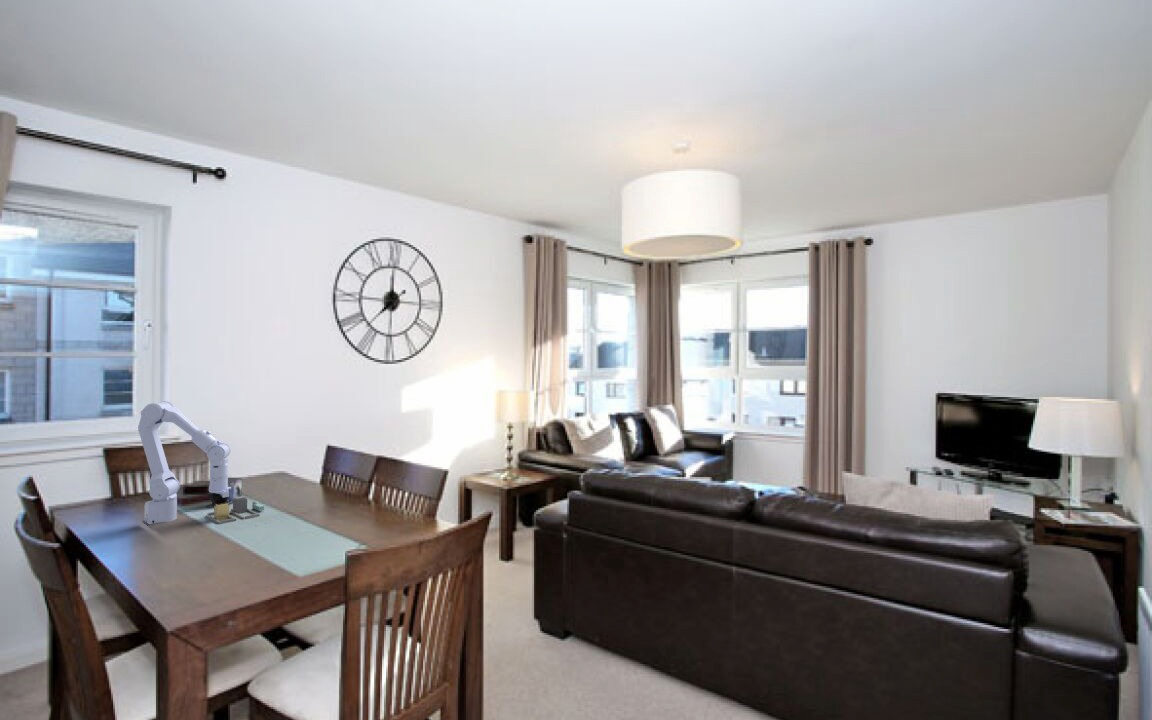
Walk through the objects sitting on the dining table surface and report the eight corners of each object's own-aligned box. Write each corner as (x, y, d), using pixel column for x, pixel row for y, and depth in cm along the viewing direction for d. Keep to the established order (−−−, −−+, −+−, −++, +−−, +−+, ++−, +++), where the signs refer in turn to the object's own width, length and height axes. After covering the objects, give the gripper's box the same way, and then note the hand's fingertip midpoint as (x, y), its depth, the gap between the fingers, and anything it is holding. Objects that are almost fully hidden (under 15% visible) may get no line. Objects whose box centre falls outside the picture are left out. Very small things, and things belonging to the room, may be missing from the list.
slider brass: (217, 520, 212) (217, 505, 212) (214, 519, 214) (214, 504, 214) (229, 518, 215) (229, 503, 215) (226, 517, 217) (226, 502, 217)
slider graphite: (235, 513, 221) (235, 499, 221) (232, 512, 223) (232, 497, 223) (247, 511, 224) (247, 497, 224) (244, 510, 226) (244, 495, 226)
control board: (209, 530, 205) (209, 523, 205) (194, 521, 216) (194, 515, 216) (274, 517, 222) (275, 511, 222) (257, 509, 232) (257, 503, 232)
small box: (227, 509, 232) (227, 483, 232) (211, 508, 232) (211, 482, 232) (242, 502, 243) (243, 477, 243) (227, 502, 243) (227, 477, 243)
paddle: (258, 512, 223) (258, 505, 223) (251, 509, 228) (251, 502, 228) (264, 511, 225) (264, 504, 225) (257, 508, 229) (257, 501, 229)
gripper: (238, 478, 215) (238, 514, 215) (223, 472, 224) (223, 507, 224) (216, 481, 209) (216, 518, 209) (202, 475, 219) (202, 511, 219)
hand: (218, 513), depth 216 cm, fingers closed
